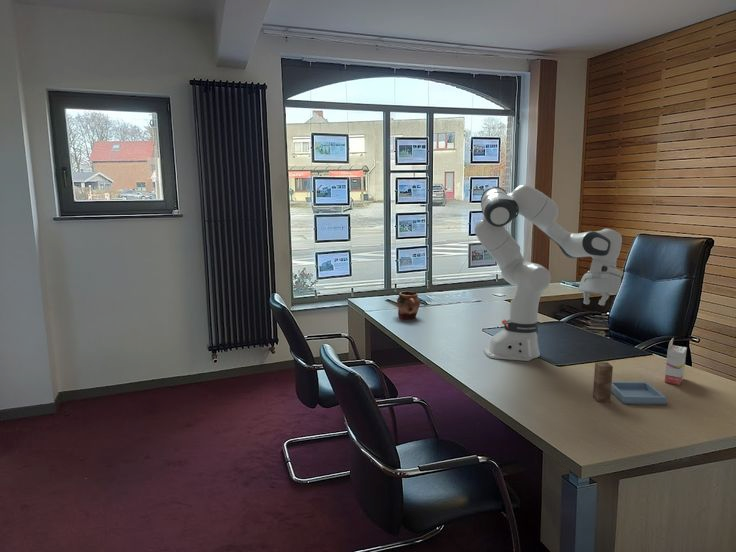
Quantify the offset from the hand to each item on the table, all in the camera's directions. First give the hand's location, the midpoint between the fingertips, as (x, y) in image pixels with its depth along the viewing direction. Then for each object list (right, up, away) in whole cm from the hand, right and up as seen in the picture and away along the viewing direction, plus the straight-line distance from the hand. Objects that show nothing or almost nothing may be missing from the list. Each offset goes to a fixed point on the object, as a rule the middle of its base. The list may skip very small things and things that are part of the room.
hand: (593, 304), depth 194 cm
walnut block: (-12, -29, -32) cm, 45 cm away
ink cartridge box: (+21, -26, -16) cm, 38 cm away
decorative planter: (-66, -12, +76) cm, 101 cm away
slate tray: (0, -29, -30) cm, 41 cm away
